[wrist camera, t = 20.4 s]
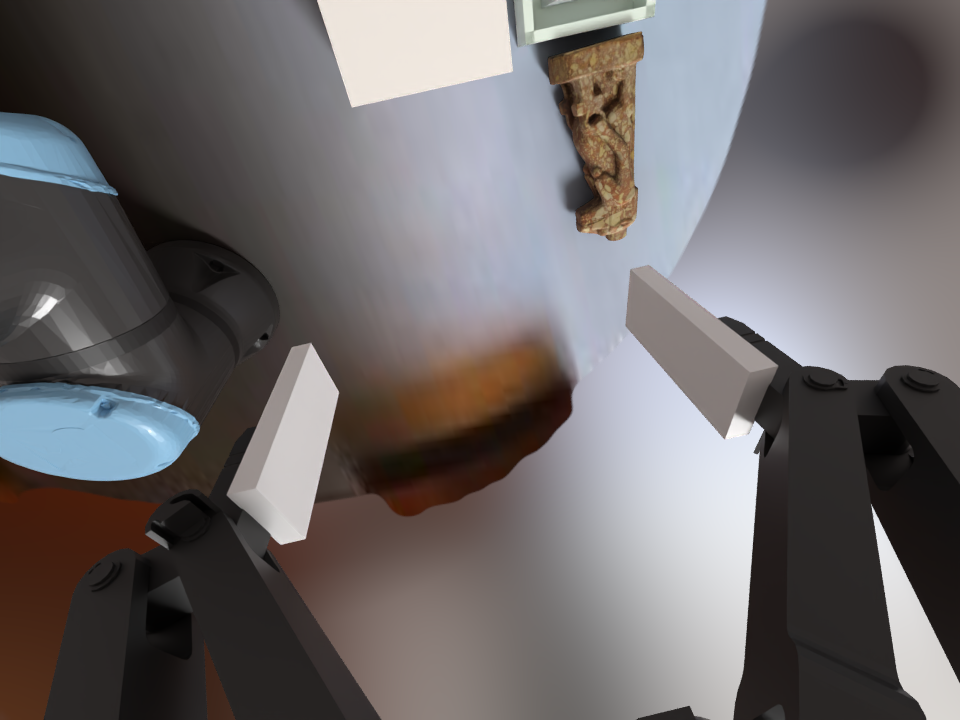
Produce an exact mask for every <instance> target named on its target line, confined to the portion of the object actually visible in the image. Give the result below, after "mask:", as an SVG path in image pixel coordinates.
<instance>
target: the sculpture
mask: <svg viewBox="0 0 960 720" xmlns="http://www.w3.org/2000/svg"><path fill="white" fill-rule="evenodd" d="M643 55H644V41H643V35H642V32H636V33H631V34H627V35H623V36H619V37H616V38H612V39H609V40H605V41H602V42H598V43H595V44H591V45H588V46H585V47H582V48H578V49H575V50H571V51H568V52H564V53H561V54H558V55H554V56H550V57H548V69H549V80H550V84H552V85H555V84H560V85H561V88H562V90H563V94H564V100H562V101H561V102H560V103H559V109H560V113H561V114H562V115H565V116H566V122H567V125H568V127H569V128H570V129H571V131H572V132H573V142H574V145H575V147H576V149H577V151H578V153H579V154H580V156H581V157H582V158H583V160H584V161H585V164H584V166H583V172H584V173H585V176H584V177H585V179H586V181H587V183H588V185H589V187H590V188H591V190H592V192H593V195H594V198H593V199H592V200H591V201H589V202H588V203H586V204H585V205H583V206H581V207H580V208H578V209H577V210H576V212H575V216H576V226H577V230H578V231H579V232H582V233H595V234H599V235H600V236H605V235H606V238H607V239H608V240H610V241H616V240H620V239H622V238H624V237H625V236H626V232H627V227H628V226H630V225H631V224H632V223H633V222H634V221H635V219H636V214H637V199H638V188H637V187H636V186H635V184H634V130H635V78H636V63H637V62H638V61H640V60H642V59H643Z"/></svg>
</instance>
